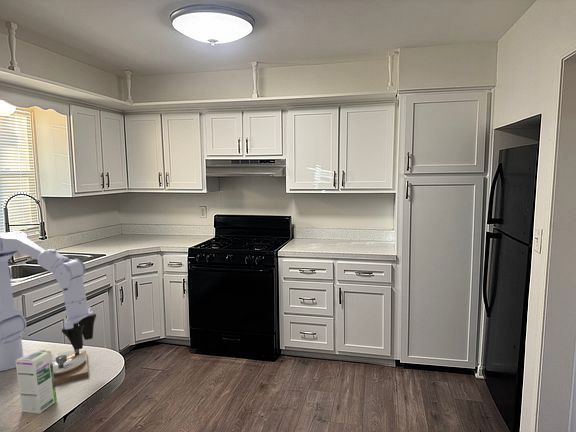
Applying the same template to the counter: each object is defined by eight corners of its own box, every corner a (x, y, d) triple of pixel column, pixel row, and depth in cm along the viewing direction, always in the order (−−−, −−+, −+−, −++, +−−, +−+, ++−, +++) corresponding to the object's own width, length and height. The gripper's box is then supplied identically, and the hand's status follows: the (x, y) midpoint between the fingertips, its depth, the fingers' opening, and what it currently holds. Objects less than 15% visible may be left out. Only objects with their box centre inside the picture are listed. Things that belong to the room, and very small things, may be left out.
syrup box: (39, 414, 99) (34, 360, 97) (20, 412, 100) (14, 359, 98) (57, 401, 104) (52, 350, 103) (38, 399, 106) (33, 349, 104)
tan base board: (38, 365, 125) (37, 359, 125) (86, 354, 132) (86, 349, 132) (33, 390, 110) (33, 383, 110) (88, 376, 117) (87, 370, 117)
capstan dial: (70, 352, 130) (69, 339, 129) (93, 361, 123) (92, 347, 123) (28, 369, 119) (27, 355, 118) (51, 380, 112) (50, 365, 112)
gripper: (79, 304, 109) (88, 351, 110) (98, 291, 123) (106, 332, 124) (53, 309, 108) (62, 355, 109) (75, 295, 122) (83, 336, 123)
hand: (83, 343), depth 117 cm, fingers open, 7 cm apart
